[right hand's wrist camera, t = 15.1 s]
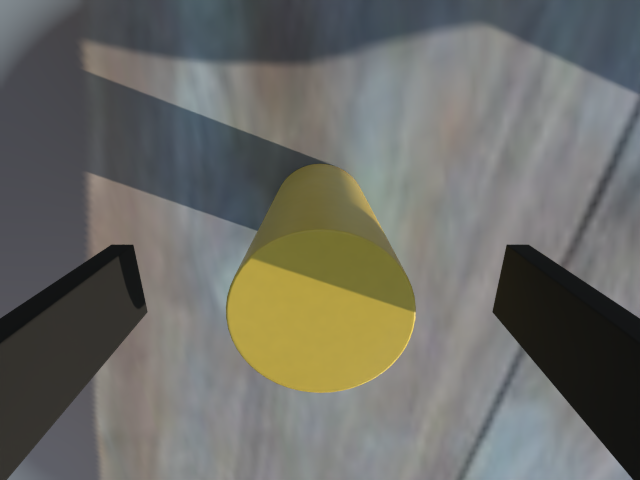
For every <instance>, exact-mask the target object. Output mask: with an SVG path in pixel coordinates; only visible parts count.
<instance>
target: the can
mask: <svg viewBox="0 0 640 480" xmlns="http://www.w3.org/2000/svg"><path fill="white" fill-rule="evenodd" d="M415 312H416V306H415V297H414V293H413V290H412V286H411V284H410V281H409V279H408V277H407V275H406V273H405V271H404V269H403V267H402V266H401V264H400V262H399V260H398V258H397V256H396V254H395V252H394V251H393V249H392V247H391V245H390V243H389V241H388V239H387V237H386V236H385V234H384V232H383V230H382V228H381V226H380V224H379V223H378V221H377V219H376V217H375V215H374V213H373V211H372V209H371V208H370V206H369V204H368V202H367V200H366V198H365V196H364V194H363V193H362V191H361V189H360V187H359V185H358V184H357V182H356V181H355V180H354V179H353V177H351V176H350V175H349V174H348V173H347V172H345V171H344V170H342V169H340V168H338V167H335V166H332V165H328V164H312V165H308V166H305V167H302V168H300V169H298V170H296V171H295V172H293V173H292V174H291V175H289V176H288V177H287V178H286V180H285V181H284V182H283V183H282V185H281V187H280V188H279V190H278V192H277V194H276V196H275V198H274V200H273V202H272V204H271V206H270V208H269V210H268V212H267V214H266V216H265V218H264V220H263V222H262V224H261V226H260V228H259V230H258V232H257V234H256V235H255V237H254V239H253V241H252V243H251V245H250V247H249V249H248V251H247V253H246V255H245V257H244V259H243V261H242V263H241V265H240V267H239V269H238V271H237V273H236V275H235V277H234V279H233V281H232V283H231V286H230V289H229V292H228V296H227V303H226V319H227V324H228V329H229V332H230V335H231V338H232V340H233V342H234V344H235V346H236V348H237V350H238V351H239V353H240V354H241V356H242V357H243V358H244V359H245V360H246V362H247V363H248V364H249V365H250V366H251V367H252V368H254V369H255V370H256V371H257V372H258V373H260V374H261V375H263V376H264V377H266V378H267V379H269V380H271V381H273V382H275V383H277V384H280V385H282V386H285V387H288V388H291V389H295V390H299V391H306V392H318V393H323V392H336V391H342V390H346V389H350V388H354V387H356V386H359V385H362V384H364V383H366V382H368V381H370V380H372V379H374V378H375V377H377V376H378V375H380V374H381V373H383V372H384V371H385V370H387V369H388V368H389V367H390V366H391V365H392V364H393V363H394V362H395V361H396V360H397V359H398V358H399V356H400V355H401V353H402V352H403V351H404V349H405V347H406V345H407V343H408V341H409V339H410V337H411V334H412V331H413V327H414V322H415Z"/></svg>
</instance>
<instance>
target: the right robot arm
mask: <svg viewBox="0 0 640 480" xmlns="http://www.w3.org/2000/svg"><path fill="white" fill-rule="evenodd" d="M146 313H147V307H146V303H145V298H144V293H143V288H142V284H141V279H140V274H139V270H138V265H137V260H136V255H135V251H134V246H133V245H110V246H109V247H107V248H106V249H104V250H103V251H101V252H100V253H98V254H97V255H95V256H94V257H92V258H91V259H89V260H88V261H86V262H85V263H83V264H82V265H80V266H79V267H77V268H76V269H74V270H73V271H71V272H70V273H68V274H67V275H65V276H64V277H62V278H61V279H59V280H58V281H56V282H55V283H53V284H52V285H50V286H49V287H47V288H46V289H44V290H43V291H41V292H40V293H38V294H37V295H35V296H34V297H32V298H31V299H29V300H28V301H26V302H25V303H23V304H22V305H20V306H18V307H17V308H15V309H14V310H12V311H11V312H9V313H8V314H6V315H5V316H3V317H2V318H0V480H7V479H8V478H9V476H10V475H11V474H12V473H13V472H14V470H15V469H16V468H17V467H18V466H19V464H20V463H21V462H22V461H23V460H24V459H25V457H26V456H27V455H28V454H29V453H30V451H31V450H32V449H33V448H34V447H35V445H36V444H37V443H38V442H39V441H40V439H41V438H42V437H43V436H44V435H45V433H46V432H47V431H48V430H49V429H50V428H51V426H52V425H53V424H54V423H55V422H56V420H57V419H58V418H59V417H60V416H61V414H62V413H63V412H64V411H65V410H66V408H67V407H68V406H69V405H70V404H71V403H72V401H73V400H74V399H75V398H76V396H77V395H78V394H79V393H80V392H81V391H82V389H83V388H84V387H85V386H86V385H87V383H88V382H89V381H90V380H91V379H92V378H93V376H94V375H95V374H96V373H97V372H98V370H99V369H100V368H101V367H102V366H103V364H104V363H105V362H106V361H107V360H108V358H109V357H110V356H111V355H112V354H113V352H114V351H115V350H116V349H117V348H118V347H119V345H120V344H121V343H122V342H123V341H124V339H125V338H126V337H127V336H128V335H129V333H130V332H131V331H132V330H133V329H134V327H135V326H136V325H137V324H138V323H139V321H140V320H141V319H142V318H143V317H144V316H145V314H146ZM493 313H494V314H495V316H496V317H497V318H498V319H499V320H500V321H501V323H502V324H503V325H504V326H505V327H506V329H507V330H508V331H509V332H510V333H511V335H512V336H513V337H514V338H515V339H516V341H517V342H518V343H519V344H520V345H521V347H522V348H523V349H524V350H525V351H526V352H527V354H528V355H529V356H530V357H531V358H532V360H533V361H534V362H535V363H536V364H537V366H538V367H539V368H540V369H541V370H542V372H543V373H544V374H545V375H546V376H547V378H548V379H549V380H550V381H551V382H552V383H553V385H554V386H555V387H556V388H557V389H558V391H559V392H560V393H561V394H562V395H563V397H564V398H565V399H566V400H567V401H568V403H569V404H570V405H571V406H572V407H573V408H574V410H575V411H576V412H577V413H578V414H579V416H580V417H581V418H582V419H583V420H584V422H585V423H586V424H587V425H588V426H589V428H590V429H591V430H592V431H593V432H594V434H595V435H596V436H597V437H598V438H599V439H600V441H601V442H602V443H603V444H604V445H605V447H606V448H607V449H608V450H609V451H610V453H611V454H612V455H613V456H614V457H615V459H616V460H617V461H618V462H619V463H620V465H621V466H622V467H623V468H624V469H625V470H626V472H627V473H628V474H629V475H630V476H631V478H632V479H633V480H640V318H638V317H637V316H635V315H634V314H632V313H631V312H629V311H628V310H626V309H625V308H623V307H622V306H620V305H619V304H617V303H616V302H614V301H612V300H611V299H609V298H608V297H606V296H605V295H603V294H602V293H600V292H599V291H597V290H596V289H594V288H593V287H591V286H590V285H588V284H587V283H585V282H584V281H582V280H581V279H579V278H578V277H576V276H575V275H573V274H572V273H570V272H569V271H567V270H566V269H564V268H563V267H561V266H560V265H558V264H557V263H555V262H554V261H552V260H551V259H549V258H548V257H546V256H545V255H543V254H542V253H540V252H539V251H537V250H536V249H534V248H533V247H531V246H530V245H507V246H506V251H505V255H504V260H503V265H502V270H501V274H500V279H499V284H498V288H497V293H496V298H495V303H494V307H493Z"/></svg>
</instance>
